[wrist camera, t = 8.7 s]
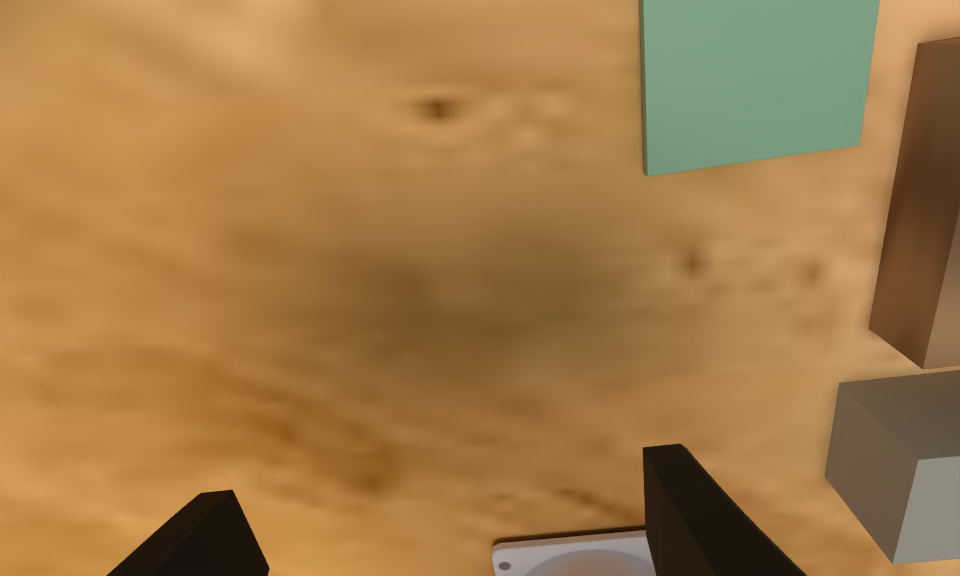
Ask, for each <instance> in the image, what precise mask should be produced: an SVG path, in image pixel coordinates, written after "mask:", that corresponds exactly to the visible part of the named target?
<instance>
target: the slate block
mask: <svg viewBox="0 0 960 576" xmlns="http://www.w3.org/2000/svg"><path fill="white" fill-rule="evenodd" d="M825 477H826V479H827V480H828V481H829V482H830V484H831V485H832V486H833V488H834V489H835V490H836V491H837V493H838V494H839V495H840V497H841V498H842V499H843V501H844V502H845V503H846V504H847V506H848V507H849V508H850V510H851V511H852V512H853V514H854V515H855V516H856V517H857V519H858V520H859V521H860V523H861V524H862V525H863V526H864V528H865V529H866V530H867V532H868V533H869V534H870V536H871V537H872V538H873V539H874V541H875V542H876V543H877V545H878V546H879V547H880V548H881V550H882V551H883V552H884V554H885V555H886V556H887V558H888V559H889V560H890V561H891V563H892V564H900V563H913V562H925V561H938V560H950V559H960V370H958V371H948V372H939V373H930V374H920V375H911V376H902V377H892V378H883V379H874V380H864V381H855V382H846V383H839V389H838V396H837V402H836V408H835V415H834V421H833V427H832V434H831V440H830V446H829V453H828V459H827V466H826V472H825Z"/></svg>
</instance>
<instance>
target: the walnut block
mask: <svg viewBox="0 0 960 576" xmlns="http://www.w3.org/2000/svg"><path fill="white" fill-rule="evenodd" d="M869 329H870V330H871V331H873V332H874V333H875V334H877V335H878V336H879V337H881V338H882V339H883V340H884V341H886V342H887V343H888V344H890V345H891V346H892V347H894V348H895V349H896V350H898V351H899V352H900V353H902V354H903V355H904V356H906V357H907V358H908V359H910V360H911V361H912V362H914V363H915V364H916V365H918V366H919V367H920V368H922V369H931V368H940V367H949V366H958V365H960V37H957V38H951V39H945V40H939V41H933V42H926V43H920V44H918V47H917V53H916V58H915V64H914V70H913V76H912V81H911V87H910V93H909V99H908V104H907V110H906V116H905V122H904V127H903V133H902V139H901V145H900V150H899V156H898V162H897V168H896V173H895V179H894V185H893V191H892V196H891V202H890V208H889V214H888V219H887V225H886V231H885V237H884V242H883V248H882V254H881V260H880V265H879V271H878V277H877V283H876V289H875V294H874V300H873V306H872V312H871V317H870V323H869Z"/></svg>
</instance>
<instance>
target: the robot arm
mask: <svg viewBox="0 0 960 576" xmlns="http://www.w3.org/2000/svg"><path fill="white" fill-rule="evenodd" d="M643 469H644V497H645V525H646V530H641V531H630V532H619V533H607V534H596V535H585V536H574V537H563V538H551V539H540V540H529V541H518V542H507V543H499V544H497V545H495V546H494V547H493V548H492V563H493V567H494V572H495V576H807V575H806V574H805V573H804V572H803V571H802V570H801V569H800V568H799V567H798V566H797V565H796V564H795V563H793V562H792V561H791V560H790V559H789V558H788V557H787V556H786V555H785V554H784V553H783V552H782V551H781V550H780V549H779V548H778V547H777V546H776V545H775V544H774V543H773V542H772V541H771V540H770V539H769V538H768V537H767V536H766V535H765V534H764V533H763V532H762V531H761V530H760V529H759V528H758V527H757V526H756V525H755V523H754V522H753V521H752V520H751V519H750V518H749V517H748V516H747V515H746V514H745V513H744V512H743V511H742V510H741V509H740V508H739V507H738V506H737V505H736V503H735V502H734V501H733V500H732V499H731V498H730V497H729V496H728V495H727V494H726V493H725V492H724V491H723V489H722V488H721V487H720V486H719V485H718V484H717V483H716V482H715V481H714V479H713V478H712V477H711V476H710V475H709V474H708V473H707V472H706V470H705V469H704V468H703V467H702V466H701V465H700V463H699V462H698V461H697V460H696V459H695V458H694V457H693V455H692V454H691V453H690V452H689V451H688V449H687V448H685V447H684V446H683V445H681V444H672V445H663V446H653V447H643ZM269 569H270V568H269V566H268V564H267V562H266V559H265V557H264V555H263V553H262V551H261V549H260V547H259V545H258V542H257V540H256V538H255V536H254V534H253V532H252V530H251V528H250V525H249V523H248V521H247V519H246V517H245V515H244V513H243V511H242V509H241V506H240V504H239V502H238V500H237V498H236V496H235V494H234V492H233V490H225V491H215V492H206V493H200V494H199V495H198V496H196V497H195V498H194V499H193V500H191V501H190V502H189V503H188V504H187V505H185V506H184V507H183V508H182V509H181V510H179V511H178V512H177V513H176V514H175V515H174V516H173V517H171V518H170V519H169V520H168V521H167V522H166V523H165V524H164V525H162V526H161V527H160V528H159V529H158V530H157V531H156V532H155V533H153V534H152V535H151V536H150V537H149V538H148V539H147V540H146V541H145V542H143V543H142V544H141V545H140V546H139V547H138V548H137V549H136V550H135V551H133V552H132V553H131V554H130V555H129V556H128V557H127V558H126V559H125V560H123V561H122V562H121V563H120V564H119V565H118V566H117V567H116V568H114V569H113V570H112V571H111V572H110V573H109V574H108V575H107V576H268V572H269Z"/></svg>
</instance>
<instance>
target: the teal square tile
mask: <svg viewBox="0 0 960 576" xmlns="http://www.w3.org/2000/svg"><path fill="white" fill-rule="evenodd" d="M879 2H880V0H640V34H641V70H642V107H643V143H644V174H646V175H647V176H654V175H661V174H668V173H674V172H681V171H688V170H695V169H701V168H708V167H715V166H722V165H729V164H735V163H742V162H749V161H756V160H762V159H769V158H776V157H783V156H790V155H796V154H803V153H810V152H817V151H823V150H830V149H837V148H844V147H851V146H857V145H860V137H861V130H862V123H863V116H864V109H865V102H866V95H867V87H868V80H869V73H870V66H871V59H872V52H873V45H874V37H875V30H876V23H877V16H878V9H879Z"/></svg>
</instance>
